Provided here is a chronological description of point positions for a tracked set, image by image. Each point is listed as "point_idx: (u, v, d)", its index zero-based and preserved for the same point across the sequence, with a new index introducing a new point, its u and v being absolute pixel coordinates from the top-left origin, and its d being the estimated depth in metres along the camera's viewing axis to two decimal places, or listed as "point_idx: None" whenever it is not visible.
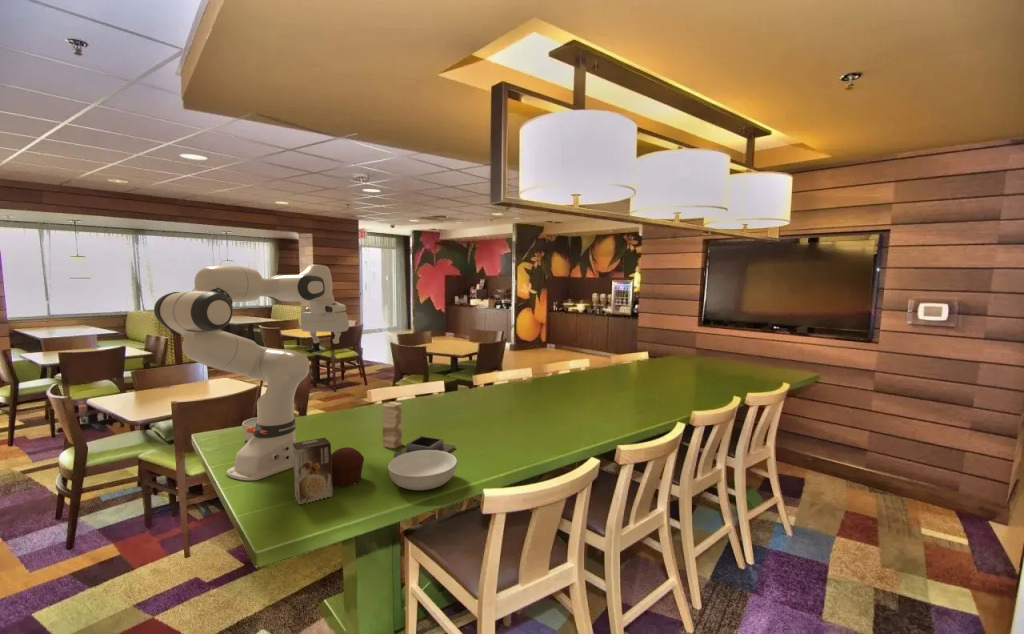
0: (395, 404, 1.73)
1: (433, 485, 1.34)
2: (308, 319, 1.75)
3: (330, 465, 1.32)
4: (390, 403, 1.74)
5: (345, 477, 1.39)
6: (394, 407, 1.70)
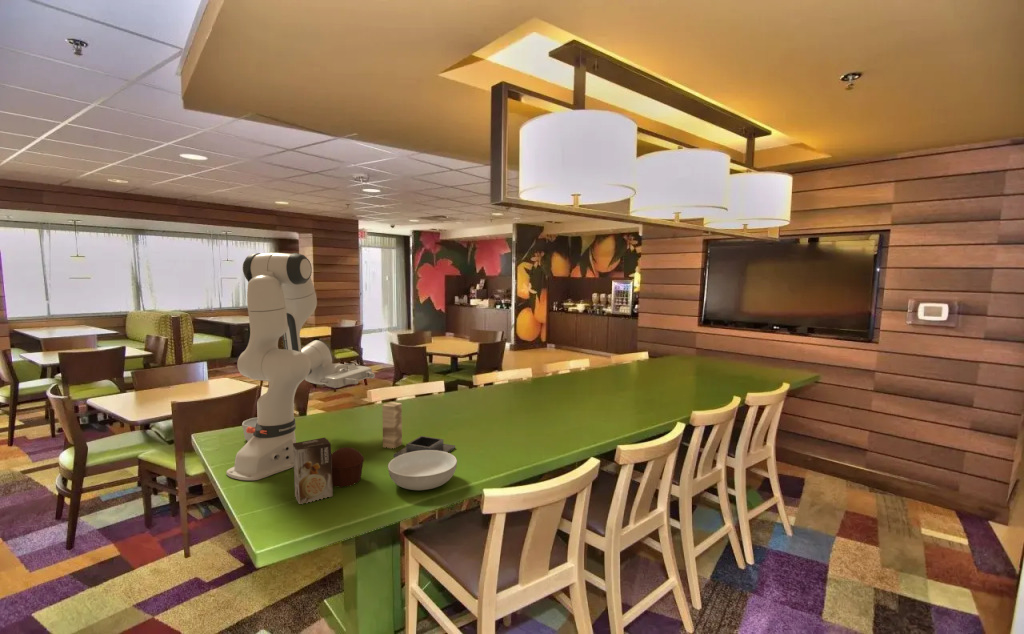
0: (395, 404, 1.73)
1: (433, 485, 1.34)
2: (335, 375, 1.75)
3: (330, 465, 1.32)
4: (390, 403, 1.74)
5: (345, 477, 1.39)
6: (394, 407, 1.70)
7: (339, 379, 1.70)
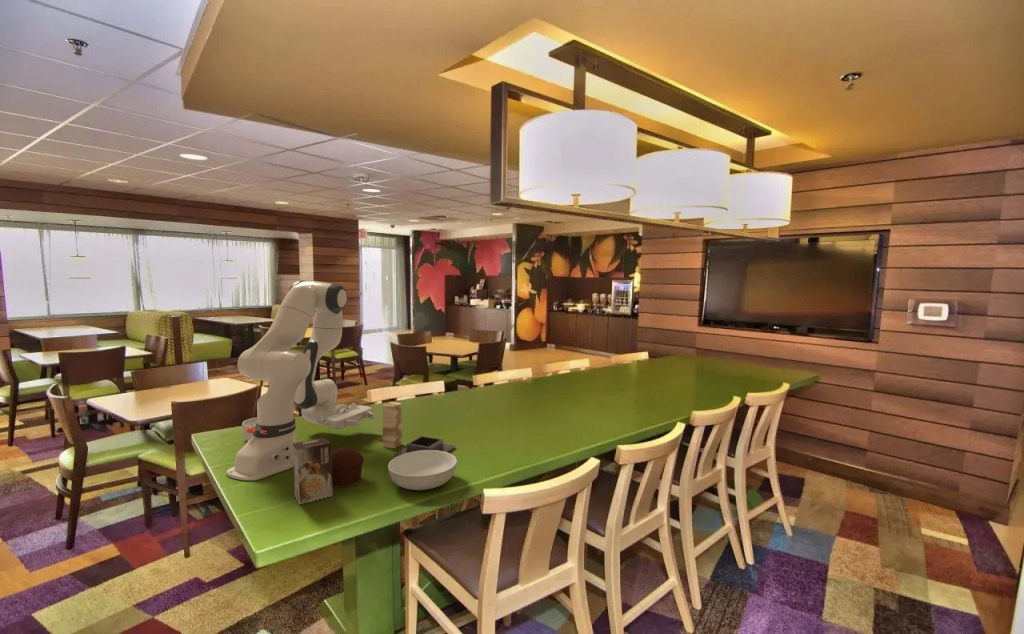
0: (395, 404, 1.73)
1: (433, 485, 1.34)
2: (336, 417, 1.76)
3: (330, 465, 1.32)
4: (390, 403, 1.74)
5: (345, 477, 1.39)
6: (394, 407, 1.70)
7: (340, 421, 1.71)
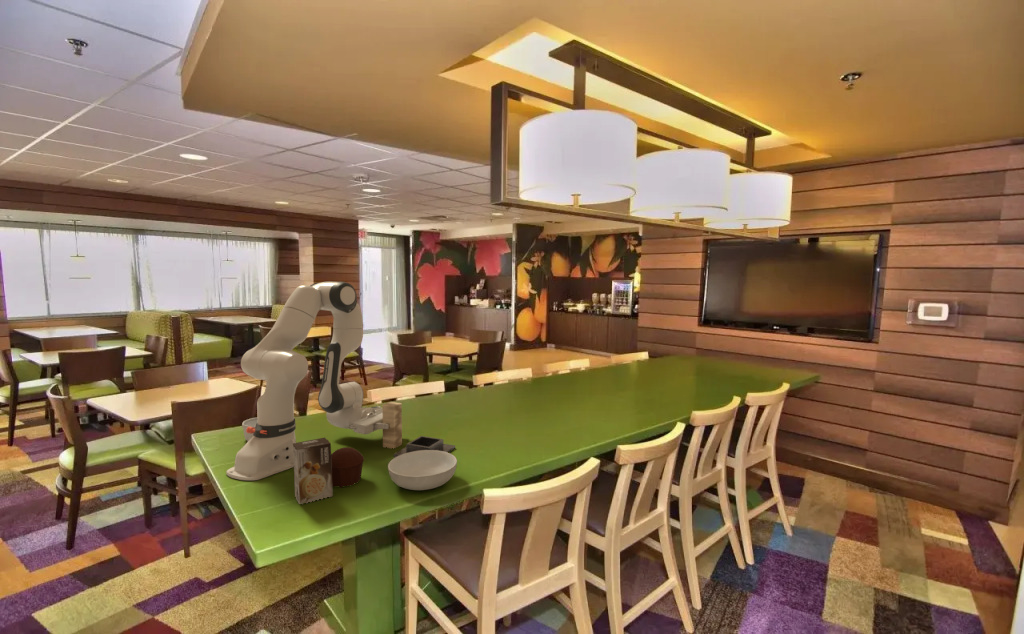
0: (395, 404, 1.73)
1: (433, 485, 1.34)
2: (363, 421, 1.71)
3: (330, 465, 1.32)
4: (390, 403, 1.74)
5: (345, 477, 1.39)
6: (394, 407, 1.70)
7: (368, 425, 1.67)
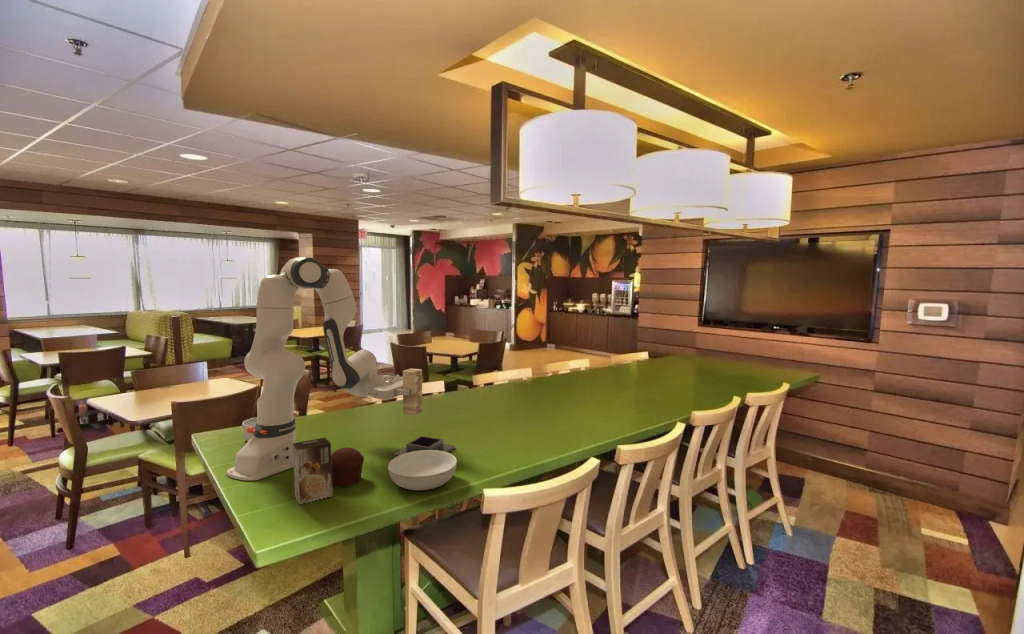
0: (415, 370, 1.68)
1: (433, 485, 1.34)
2: (383, 387, 1.66)
3: (330, 465, 1.32)
4: (410, 369, 1.69)
5: (345, 477, 1.39)
6: (415, 373, 1.66)
7: (389, 391, 1.62)
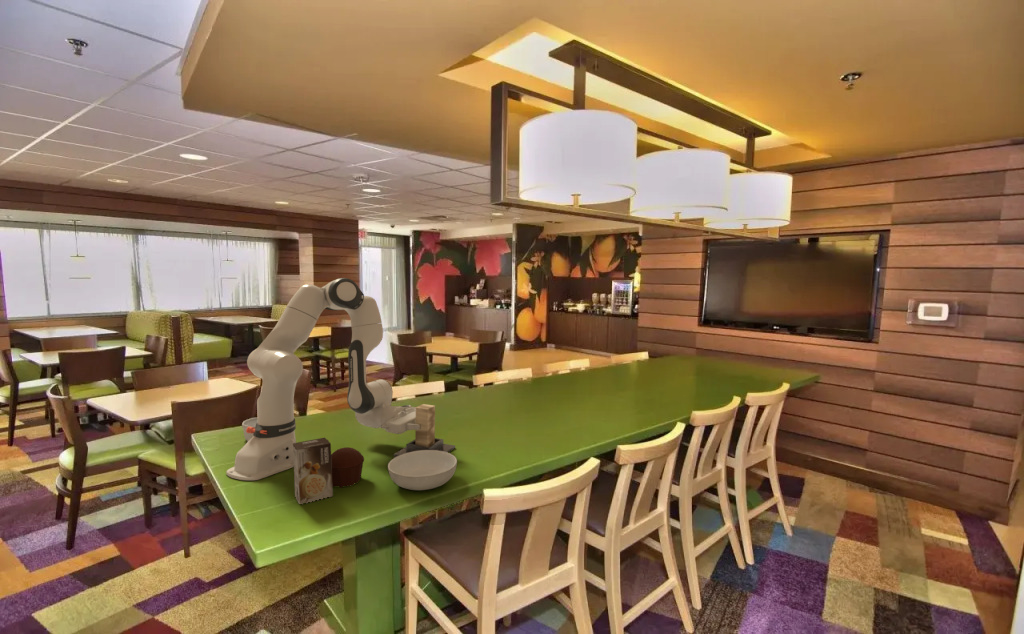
0: (429, 406, 1.66)
1: (433, 485, 1.34)
2: (395, 420, 1.64)
3: (330, 465, 1.32)
4: (423, 405, 1.67)
5: (345, 477, 1.39)
6: (428, 410, 1.64)
7: (402, 425, 1.60)
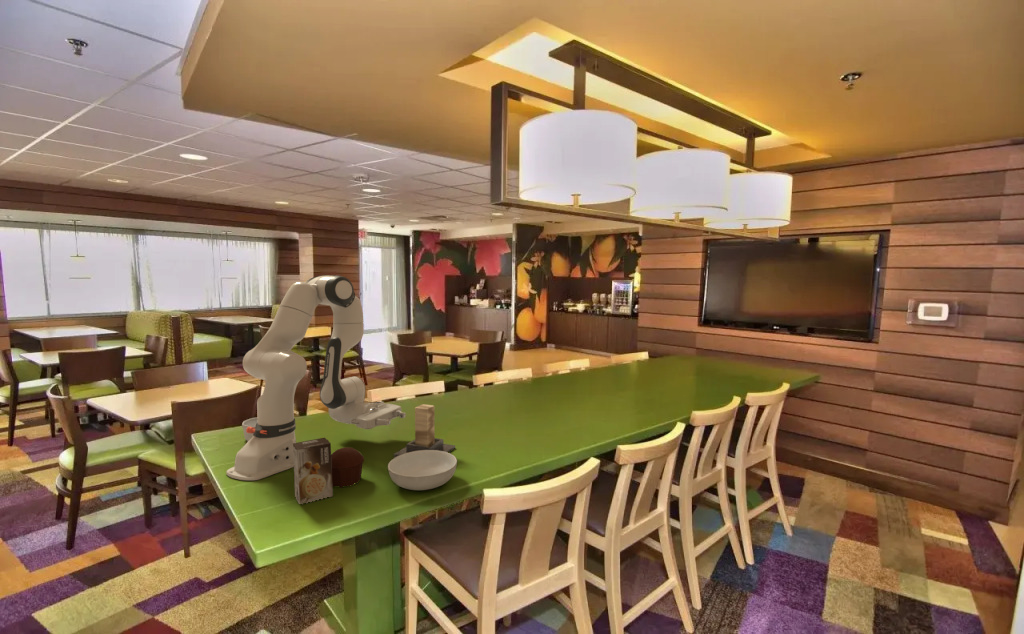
0: (428, 406, 1.66)
1: (433, 485, 1.34)
2: (366, 416, 1.69)
3: (330, 465, 1.32)
4: (422, 405, 1.67)
5: (345, 477, 1.39)
6: (427, 410, 1.64)
7: (371, 420, 1.65)
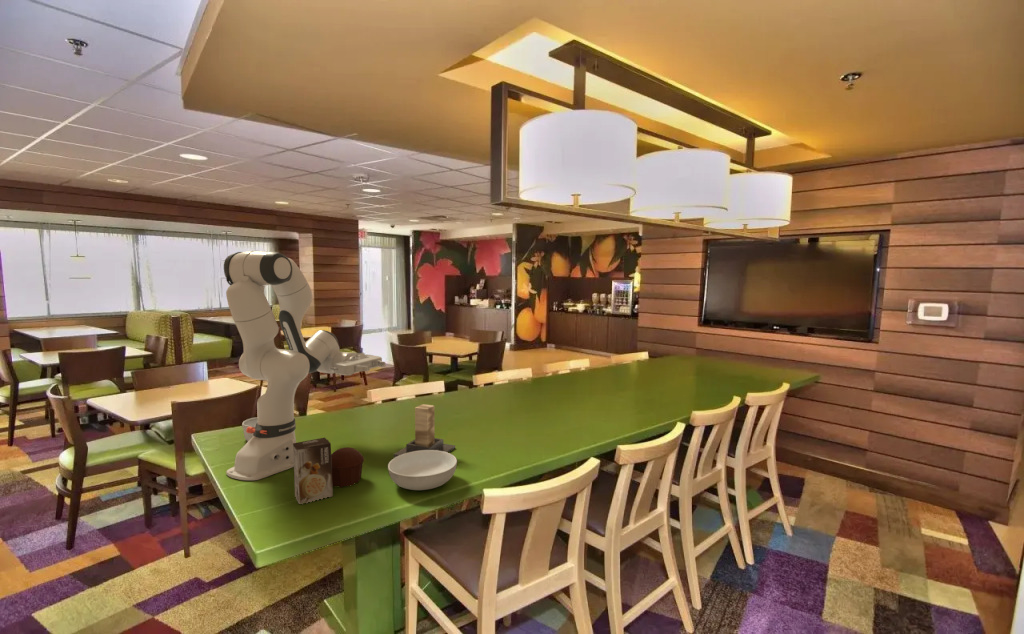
0: (428, 406, 1.66)
1: (433, 485, 1.34)
2: (345, 363, 1.71)
3: (330, 465, 1.32)
4: (422, 405, 1.67)
5: (345, 477, 1.39)
6: (427, 410, 1.64)
7: (350, 366, 1.67)
